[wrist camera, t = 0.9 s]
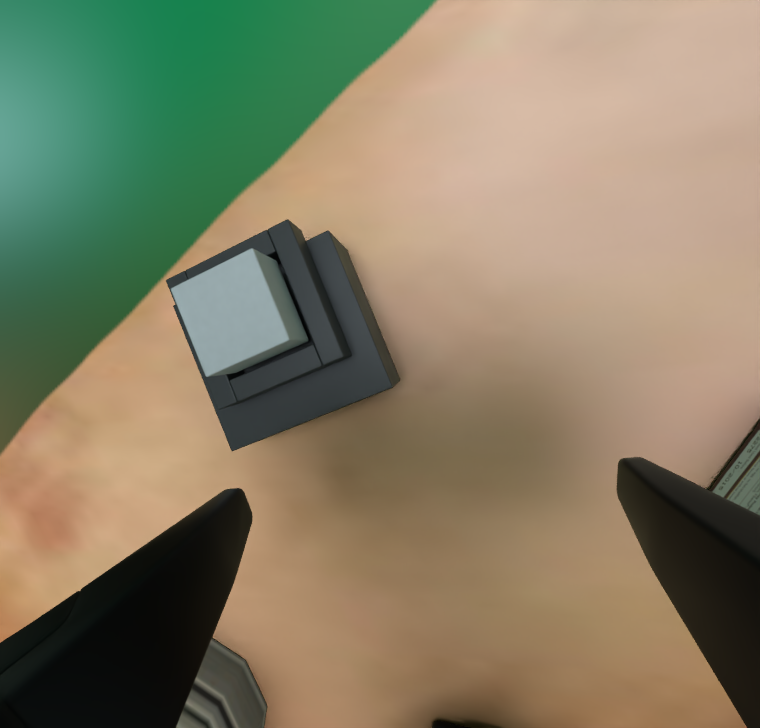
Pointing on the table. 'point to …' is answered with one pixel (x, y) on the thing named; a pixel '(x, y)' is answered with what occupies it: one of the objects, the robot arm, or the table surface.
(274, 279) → the pad
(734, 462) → the protein box
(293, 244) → the stepped grey pedestal
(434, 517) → the table surface
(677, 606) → the robot arm
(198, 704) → the can
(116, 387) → the table surface
